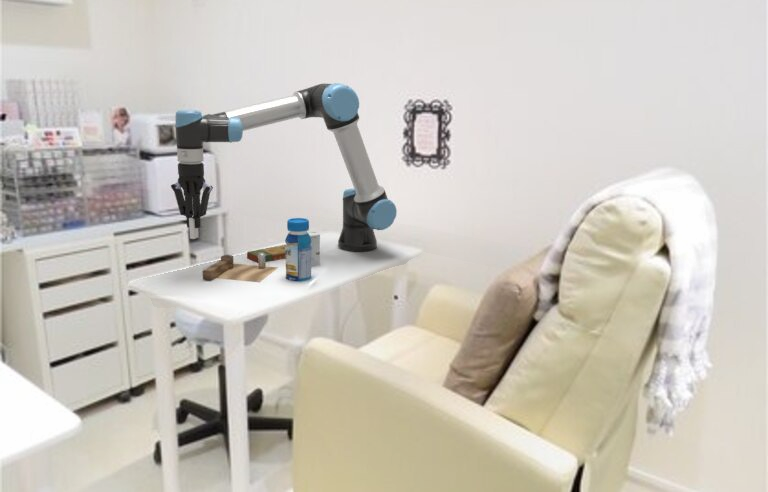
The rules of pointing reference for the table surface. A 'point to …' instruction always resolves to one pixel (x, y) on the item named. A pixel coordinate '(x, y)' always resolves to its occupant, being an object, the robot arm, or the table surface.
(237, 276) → the frame board
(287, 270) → the beverage bottle
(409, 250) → the table surface
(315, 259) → the skincare box
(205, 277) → the leg bar
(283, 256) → the carton
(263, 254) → the stop peg
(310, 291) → the table surface
